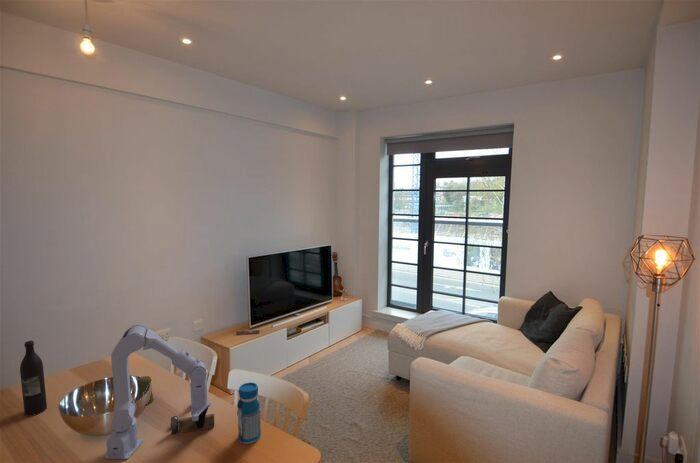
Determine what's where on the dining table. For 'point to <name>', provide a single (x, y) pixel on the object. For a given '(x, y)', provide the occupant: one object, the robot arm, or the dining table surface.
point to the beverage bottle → (248, 413)
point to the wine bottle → (32, 381)
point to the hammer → (174, 425)
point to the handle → (190, 425)
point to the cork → (144, 386)
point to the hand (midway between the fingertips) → (200, 426)
